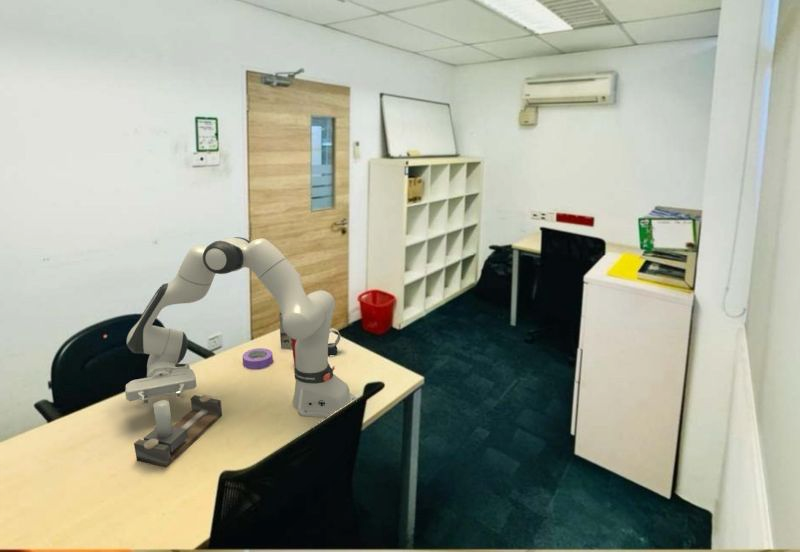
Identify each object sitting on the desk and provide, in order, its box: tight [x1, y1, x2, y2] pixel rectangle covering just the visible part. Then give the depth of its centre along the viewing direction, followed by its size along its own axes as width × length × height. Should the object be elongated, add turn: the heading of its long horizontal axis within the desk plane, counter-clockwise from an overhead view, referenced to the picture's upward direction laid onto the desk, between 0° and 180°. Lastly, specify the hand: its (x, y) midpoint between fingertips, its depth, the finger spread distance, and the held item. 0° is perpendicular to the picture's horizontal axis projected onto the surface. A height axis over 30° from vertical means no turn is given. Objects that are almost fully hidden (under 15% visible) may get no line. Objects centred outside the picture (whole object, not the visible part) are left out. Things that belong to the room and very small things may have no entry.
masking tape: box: [242, 347, 274, 370], centre depth 189 cm, size 12×12×4 cm
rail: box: [133, 394, 223, 469], centre depth 143 cm, size 28×10×7 cm, turn 166°
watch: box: [328, 327, 341, 357], centre depth 198 cm, size 6×8×11 cm
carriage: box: [143, 399, 188, 452], centre depth 135 cm, size 7×9×13 cm
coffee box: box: [278, 312, 292, 350], centre depth 204 cm, size 9×6×16 cm
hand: (162, 398), depth 143 cm, fingers open, 8 cm apart
